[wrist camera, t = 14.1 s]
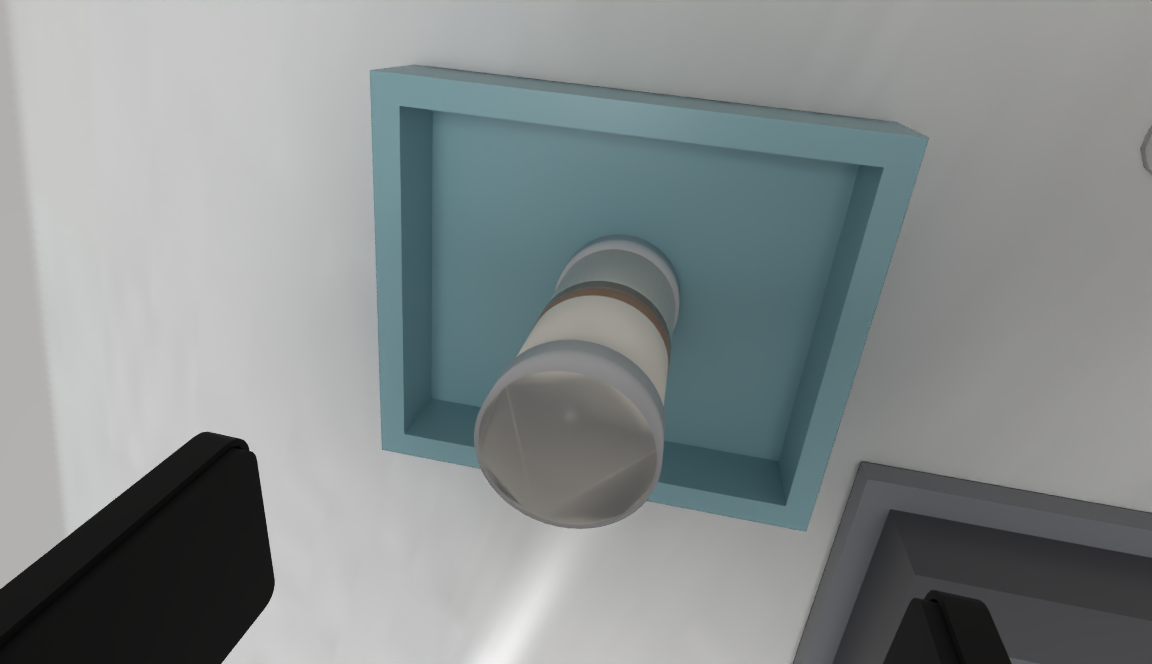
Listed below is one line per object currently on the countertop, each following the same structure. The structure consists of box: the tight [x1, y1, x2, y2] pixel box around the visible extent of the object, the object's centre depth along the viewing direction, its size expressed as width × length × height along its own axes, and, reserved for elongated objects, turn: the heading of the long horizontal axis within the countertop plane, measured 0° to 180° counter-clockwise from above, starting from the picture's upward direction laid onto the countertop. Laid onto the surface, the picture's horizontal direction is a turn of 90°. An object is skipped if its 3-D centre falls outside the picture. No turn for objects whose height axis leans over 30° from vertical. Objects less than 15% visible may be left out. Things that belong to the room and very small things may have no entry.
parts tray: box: [370, 65, 929, 531], centre depth 21 cm, size 14×12×3 cm
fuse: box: [474, 235, 680, 529], centre depth 17 cm, size 4×4×9 cm
